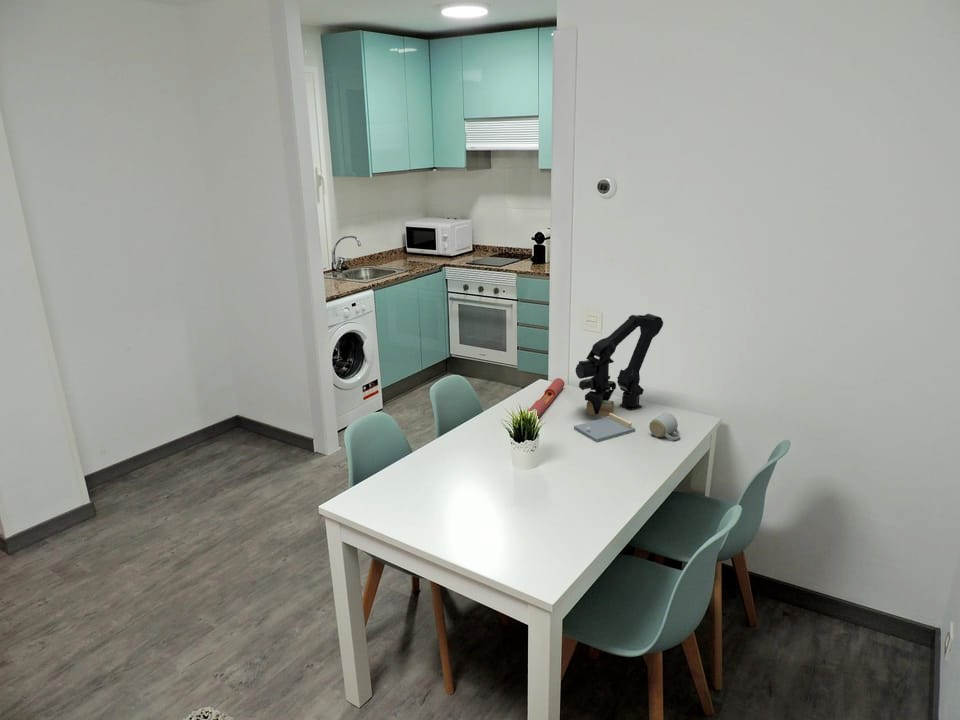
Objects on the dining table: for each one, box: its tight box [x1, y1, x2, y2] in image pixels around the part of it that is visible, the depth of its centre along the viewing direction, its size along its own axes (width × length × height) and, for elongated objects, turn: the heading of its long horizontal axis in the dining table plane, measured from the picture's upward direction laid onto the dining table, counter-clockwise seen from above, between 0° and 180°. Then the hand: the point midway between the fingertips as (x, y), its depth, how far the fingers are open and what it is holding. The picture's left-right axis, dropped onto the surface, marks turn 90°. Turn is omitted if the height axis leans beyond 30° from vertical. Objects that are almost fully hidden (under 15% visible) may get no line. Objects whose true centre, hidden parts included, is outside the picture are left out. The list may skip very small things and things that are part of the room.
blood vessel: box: [527, 377, 565, 419], centre depth 275 cm, size 42×5×5 cm, turn 158°
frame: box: [586, 400, 615, 417], centre depth 264 cm, size 5×10×5 cm, turn 70°
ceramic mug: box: [648, 412, 681, 442], centre depth 242 cm, size 11×8×8 cm
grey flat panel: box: [573, 413, 636, 443], centre depth 249 cm, size 18×14×3 cm
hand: (600, 410), depth 265 cm, fingers open, 7 cm apart
